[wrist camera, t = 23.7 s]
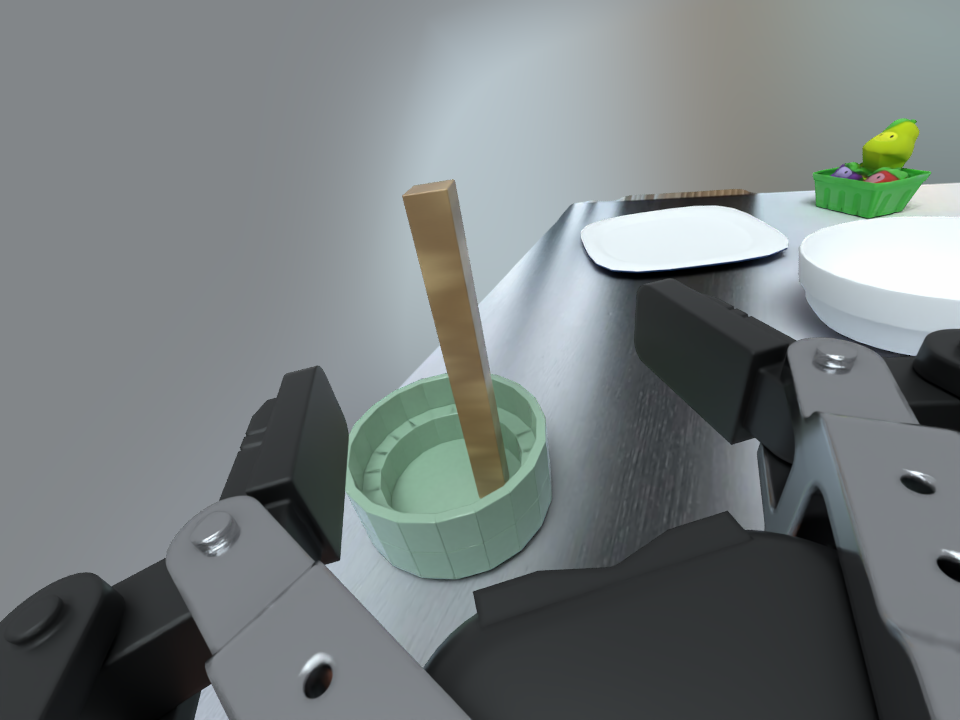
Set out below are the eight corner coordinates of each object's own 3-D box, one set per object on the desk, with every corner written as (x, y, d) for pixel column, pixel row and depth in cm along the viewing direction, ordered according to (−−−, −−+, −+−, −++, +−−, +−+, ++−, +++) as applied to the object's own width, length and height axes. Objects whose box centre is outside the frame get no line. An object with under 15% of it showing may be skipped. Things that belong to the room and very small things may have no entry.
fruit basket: (800, 206, 66) (820, 127, 60) (852, 195, 66) (877, 115, 60) (868, 223, 56) (900, 130, 50) (928, 210, 57) (967, 116, 51)
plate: (574, 231, 74) (574, 221, 73) (723, 209, 71) (725, 199, 70) (598, 288, 53) (598, 276, 52) (813, 262, 50) (817, 248, 49)
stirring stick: (479, 499, 28) (401, 195, 17) (482, 475, 30) (413, 185, 19) (508, 498, 28) (447, 188, 17) (509, 475, 29) (454, 178, 19)
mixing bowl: (339, 580, 25) (300, 521, 22) (400, 431, 36) (380, 376, 33) (554, 589, 23) (545, 524, 20) (550, 426, 34) (545, 366, 30)
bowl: (744, 299, 45) (758, 234, 41) (929, 275, 43) (962, 204, 39) (871, 406, 30) (912, 319, 26) (1167, 378, 28) (1259, 278, 24)
